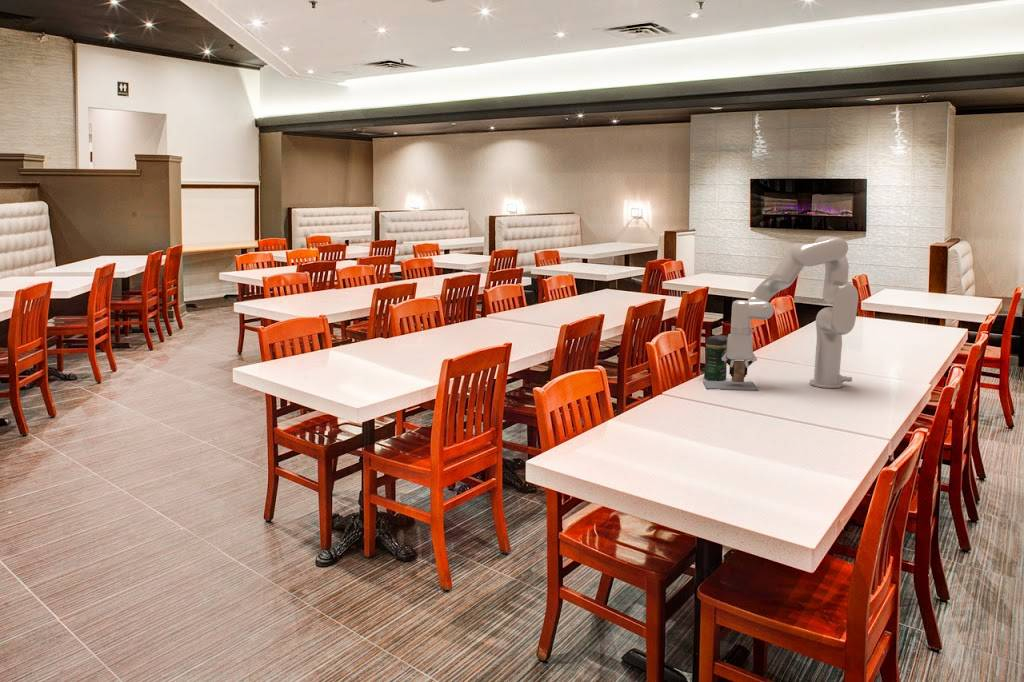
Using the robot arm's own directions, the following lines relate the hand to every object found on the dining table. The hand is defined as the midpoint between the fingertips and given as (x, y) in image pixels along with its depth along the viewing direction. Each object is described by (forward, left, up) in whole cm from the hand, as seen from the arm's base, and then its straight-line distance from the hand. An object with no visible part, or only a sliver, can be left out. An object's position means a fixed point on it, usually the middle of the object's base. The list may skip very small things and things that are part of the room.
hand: (738, 375), depth 303 cm
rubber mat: (+3, 0, -4) cm, 5 cm away
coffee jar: (+7, -13, -5) cm, 15 cm away
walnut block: (0, 0, -2) cm, 2 cm away
